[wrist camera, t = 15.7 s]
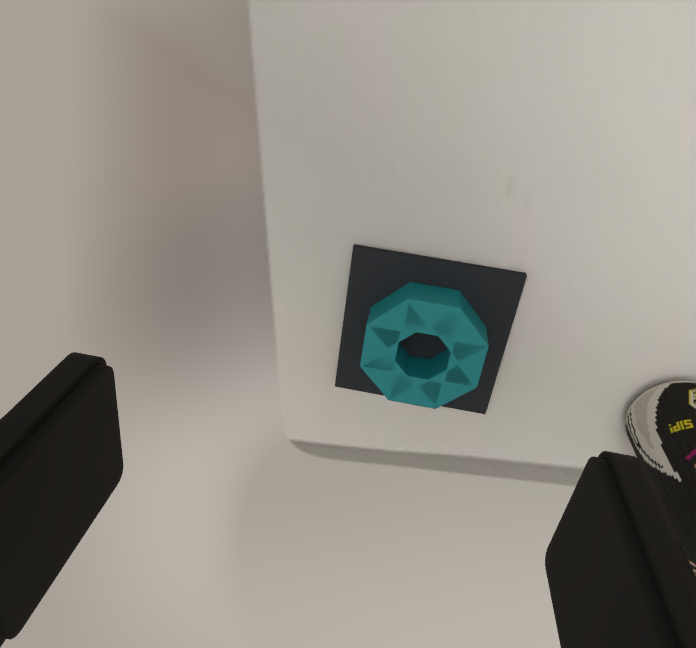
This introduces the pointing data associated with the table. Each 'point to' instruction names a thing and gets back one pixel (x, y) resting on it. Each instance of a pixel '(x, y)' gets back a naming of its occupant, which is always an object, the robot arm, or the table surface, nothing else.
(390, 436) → the table surface
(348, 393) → the table surface
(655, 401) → the beverage can
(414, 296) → the ring
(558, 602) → the robot arm
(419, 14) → the table surface
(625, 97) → the table surface
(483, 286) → the mat
